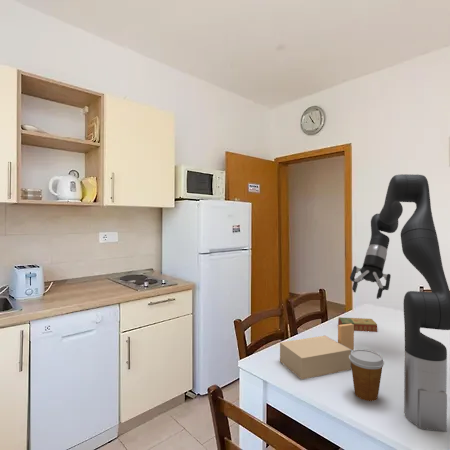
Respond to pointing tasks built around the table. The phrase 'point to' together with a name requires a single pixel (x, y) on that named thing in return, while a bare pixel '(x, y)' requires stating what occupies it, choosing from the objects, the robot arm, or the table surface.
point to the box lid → (314, 356)
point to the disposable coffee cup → (366, 373)
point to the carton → (359, 324)
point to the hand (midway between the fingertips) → (365, 294)
